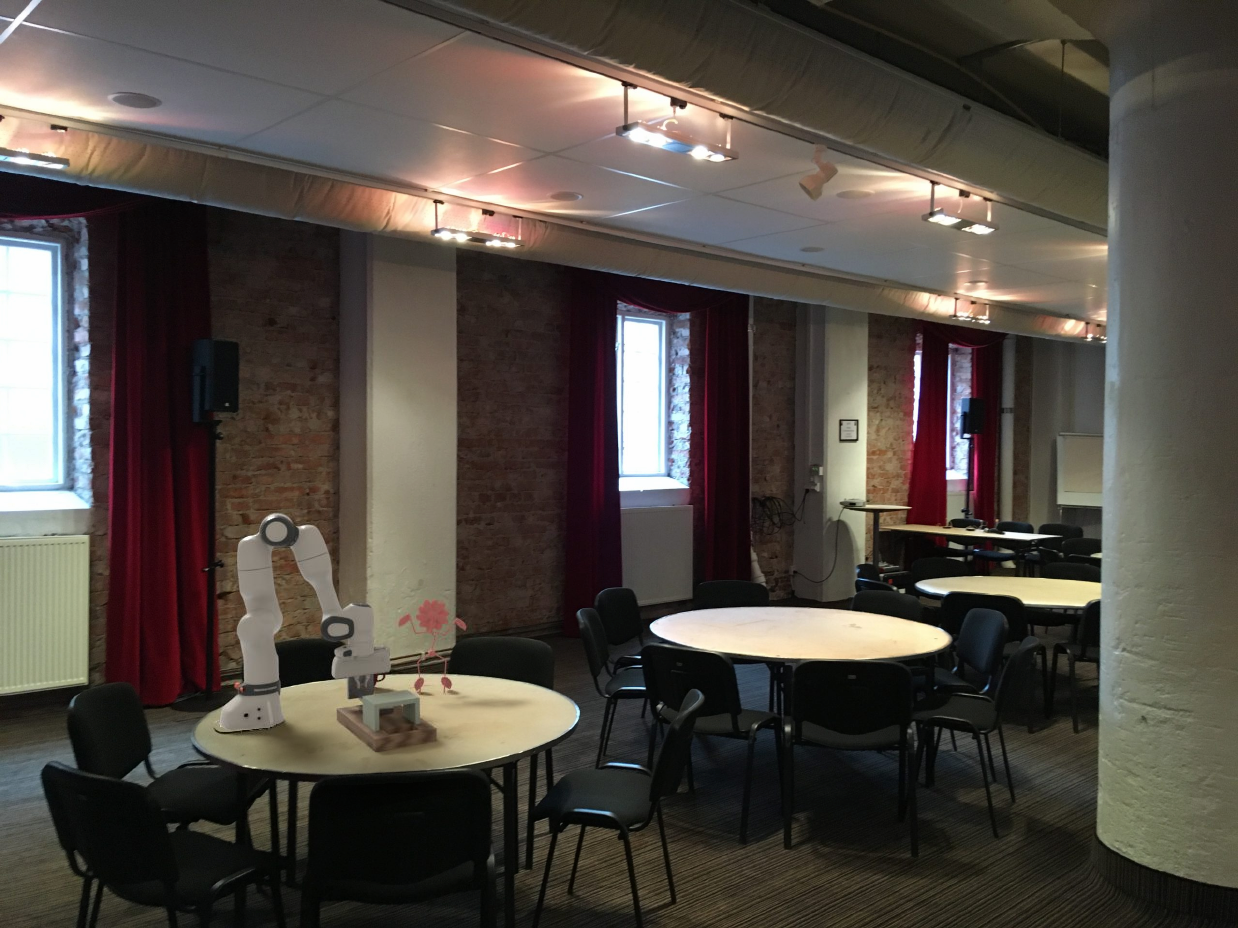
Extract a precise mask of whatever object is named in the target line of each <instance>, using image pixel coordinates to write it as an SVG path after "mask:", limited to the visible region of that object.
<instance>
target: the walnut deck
mask: <svg viewBox="0 0 1238 928" xmlns="http://www.w3.org/2000/svg"><path fill="white" fill-rule="evenodd" d="M360 705H361V704H359V705H351V706H345V707H344V706H343V707H339V708H336V721H337V722H338V723H340V724H341V725H342V726H343V727H344V728H346V730H348V731H349V732H351V734H353V735H354V736H355V737H357V738H358V739H359V740H360V741H362V742H363V743H364V744H365V745H367V747H369V748H370V749H371V750H372V751H374V752H375V753H377V752H383V751H389V750H394V749H400V748H405V747H410V746H415V745H416V746H417V745H421V744H426V743H432V742H437V741H438V736H437V735H438V734H437V733H438V732H437V731H438V729H437V727H435V725H432V724H431V723H429V722H428V721H426V720H424V719H423V718H421V717H420V724H414V723H413V722H411V721H410V720H409V719H407V718H406V717H404V716H403V705H398V706H392V707H394V712H392V713H387V714H380V715H379V731H374V730H372V729H371V728H370V727H369V726H367V725H366V724H365V723H363V713H362V712H361V711H359V706H360Z"/></svg>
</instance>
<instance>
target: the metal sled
mask: <svg viewBox="0 0 1238 928" xmlns="http://www.w3.org/2000/svg"><path fill="white" fill-rule="evenodd" d="M364 679H365V677H364V675H362V676H359V679H358V681H359V682H363V681H364ZM374 689H375V687H374V677H373V674H370V678H369V680H368V682H367V687H366V688H359V689H358V688H357V683H356V681H355V680H354V677H347V678H346V693H347V694H346V696H347V697H346V698H347V700H355V699H358V700H359V701H360V702H362V703H363V696H368V695H374V694H375V692H374V691H375V690H374ZM359 705H360V706H359V711H361V712H362V713H363V704H359ZM392 712H394V707H387V708H383V709H379V715H380V714H386V713H392Z"/></svg>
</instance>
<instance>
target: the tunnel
mask: <svg viewBox="0 0 1238 928" xmlns="http://www.w3.org/2000/svg"><path fill="white" fill-rule="evenodd" d="M362 705H363V723H365V724H366V725H367V726H369V727H370V728H371V729H372V730H374V731H379V708H386V707H392V706H398V705H402V706H403V716H404V717H406V718H407V719H409V720H410V721H411V722H413V723H414V724H420V718H421V697H419V696H418V695H416V694H414V693H413V692H411V691H410V690H409V689H403V690H394V691H389V692H383V693H376V694H375V693H374V695H368V696H363V702H362Z"/></svg>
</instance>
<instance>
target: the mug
mask: <svg viewBox="0 0 1238 928" xmlns="http://www.w3.org/2000/svg"><path fill="white" fill-rule="evenodd" d="M381 674H382V678H381V679H378V678H379V673H377V674H373V677H374V688H375V686H376V685H377V683H379V682H382V681H384V680H385V679H386V674H387V673H386V672H384V673H381Z"/></svg>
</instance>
